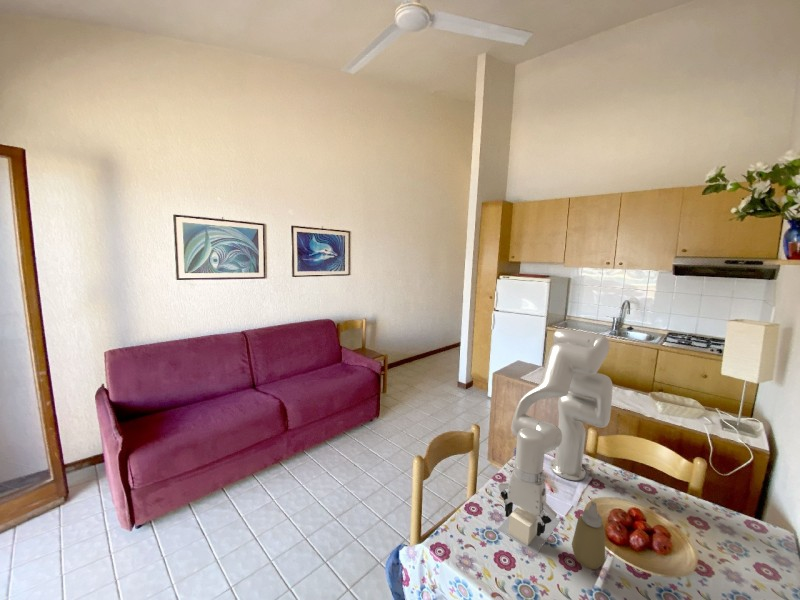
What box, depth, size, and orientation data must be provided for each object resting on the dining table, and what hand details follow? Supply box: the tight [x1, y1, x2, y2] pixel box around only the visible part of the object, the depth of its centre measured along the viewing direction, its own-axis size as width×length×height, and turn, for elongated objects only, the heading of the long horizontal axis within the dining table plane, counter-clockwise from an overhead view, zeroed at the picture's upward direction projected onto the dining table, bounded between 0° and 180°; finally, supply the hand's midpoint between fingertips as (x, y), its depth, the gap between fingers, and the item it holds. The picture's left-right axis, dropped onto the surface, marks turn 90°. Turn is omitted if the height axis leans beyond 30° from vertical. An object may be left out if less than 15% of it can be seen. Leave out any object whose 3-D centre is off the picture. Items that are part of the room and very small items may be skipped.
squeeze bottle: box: [571, 501, 606, 570], centre depth 93 cm, size 8×8×18 cm
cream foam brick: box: [508, 506, 538, 546], centre depth 102 cm, size 6×6×6 cm
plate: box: [497, 510, 561, 555], centre depth 106 cm, size 18×12×1 cm, turn 135°
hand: (523, 523), depth 102 cm, fingers open, 9 cm apart
